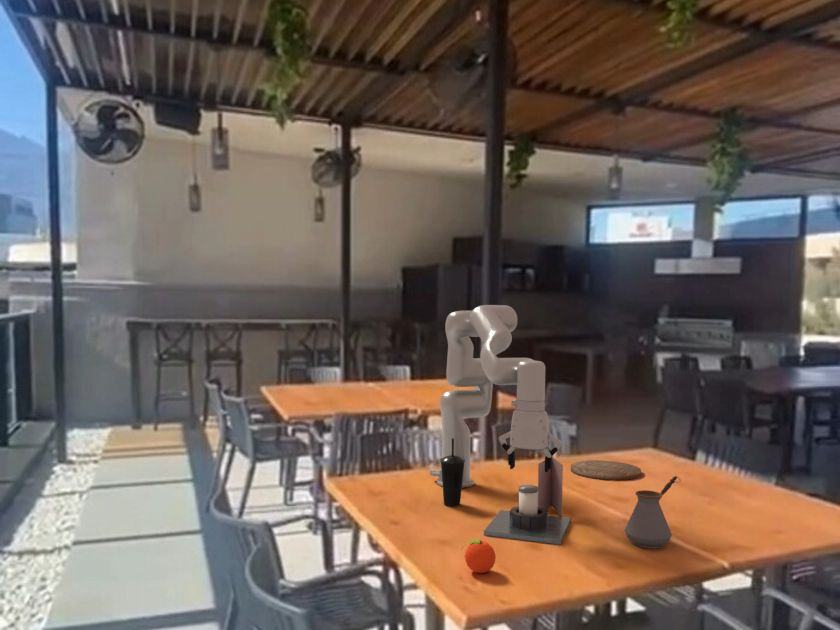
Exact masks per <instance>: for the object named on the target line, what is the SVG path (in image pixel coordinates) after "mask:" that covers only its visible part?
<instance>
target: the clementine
mask: <svg viewBox="0 0 840 630" xmlns="http://www.w3.org/2000/svg"><path fill="white" fill-rule="evenodd" d="M467 544H469V545H468V546H467V547H466V550H465V554H464V559H465V563H466V566H467V567H468V568H469V569H470V571H472V572H474V573H476V574H485V573H487V572H489V571H490V570H492V569H493V567H494V566H495V563H496V559H497V557H496V556H497V555H496V552H495V550H494V548H493V545H491V544H490V543H488V542H487V541H483V540H471V541H468V542H466V543H465V545H467ZM463 549H464V546H462V548H461V551H462V550H463Z"/></svg>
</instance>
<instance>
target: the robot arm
mask: <svg viewBox="0 0 840 630" xmlns="http://www.w3.org/2000/svg"><path fill="white" fill-rule="evenodd" d="M444 325H445V326H444V327H445V335H446V340H447V345H448V346H447V360H446V375H445V376H446V382H447V383H448V385H449V386H450V387H454V388H465V387H467V388H469V387H471V388H472V387H475V389H454V390H453V389H452V390H448V391H445V392H443V394H441V396H440V398H439V407H440V409H439V410H440V414H441V429H442V431H441V435H442V436H441V438H442V440H441V458H443V457H445V456H449V455H452V438H453V439H454V455H456V456H459V457H461V458H463V459H465V462H464V470H463V480H462V489H464V488H465V487H466V488H471V487H472V485H473V486H474V485H475V479H473V478H471V430H470V428H469V427H468V425H467V424H466V423H467V422H465V419H474V418H475V419H476V418H484V417H486V416H488V415H489V413H490V412H491V407H492V398H493V388H494V387H493V386H494V385H497V386H508V385H510V386H512V385H516V400H511V407H515V410H513V412H512V416H511V425H510V431H508V432H506V433H504V434H502V435H500V436H498V441H499V443H500V445H501V447H502V448H503V450H505V451H506V454H507V455H508V457H507V461H508V462H507V465H508V466H509V470H513V469H515V467H516V453H515V450H516V449H519V450H531V451H543V453H544V454H545V457H544V460H545V472H548V471H549V469H551V457H554V454H556V453H557V452H558V451H559V449H560V448H561V446H562V444H563V441H562V440H560V439H559V438H558V437H556V436H554V435H553V434H552V433H550V423H549V416H548V412H547V411H545V410H546V409H545V407H546V401H545V399H546V365H545V363H544V362H543V361H540V360H534V359H532V358H529V357H498V356H497V355H498V354H500V353H502V352H504V351H506V350H507V349H508V348H509V347H510V345H511V343H512V341H513V340H512V339H513V337H512V332H513V331H515V329H516V328H517V325H518V314H517V312H516V311H515V309H513V307H511V306H509V305H505V304H501V305H500V304H484V305H478V306H477V307H475V308H474V309H472V310H458V311H456V310H455V311H453V312H451V313H449V314H448V315H447V317H446V320H445V324H444ZM470 337H473V338H474V337H475V338H477V337H479V338H480V340H481V342H482V343H483V345H482V347H481V350H480V357H477V358H474V344H473V342H472V339H471V338H470ZM508 438H509V444H508V442H507V441H506V439H508ZM550 441H551V442H552V443H554V444H555V445H554V447H553V448H552V449H551V448H550V447H549V446H550ZM429 472H430V475H431V476H432V477H438V478H437V479H436V484H437V485H438V486H441V487H443V484H442V470H441V468H439V469H435V468H430V471H429Z"/></svg>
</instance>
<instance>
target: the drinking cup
mask: <svg viewBox="0 0 840 630" xmlns="http://www.w3.org/2000/svg"><path fill="white" fill-rule="evenodd" d="M439 462H440V469H441V470H442V484H443V486H442V496H443V505H444V506H446V507H450V508H451V507H453V508H454V507H456V508H457V507H460V505H461V497H462V489H463V488H462V480H463V470H464V462H465V459H463V458H461V457H459V456H456V455H454V439H453V438H452V455H449V456H445V457H443V458H442V457H441V458H440V459H439Z"/></svg>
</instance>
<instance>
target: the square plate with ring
mask: <svg viewBox="0 0 840 630" xmlns="http://www.w3.org/2000/svg"><path fill="white" fill-rule="evenodd" d="M571 522H572V518H571V517H567V516H566V517H565V516H562V517H561V516H560V515H558V516H557V515H549V511H548V510H547V509H546V510H545V509H543V508H539V507H538V515H524V514H520V513H519V505H518V506H514V507H513V506H512V507H511V508H510V509H509V510H505V509H500V511H499V512H498V513H497V514H496V515H495V516H494V518H493V519H492V520H491V521H490V522H489V524H488V525H487V526H486V527H485V528H484V530H483V536H486V537H494V538H501V539H502V538H503V539H510V540H519V541H526V542H527V541H528V542H533V543H534V542H535V543H543V544H550V545H559V546H560V545H561V544H562V542H563V540H564V538H565V536H566V534H567V531H568V530H569V527H570V525H571Z"/></svg>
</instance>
